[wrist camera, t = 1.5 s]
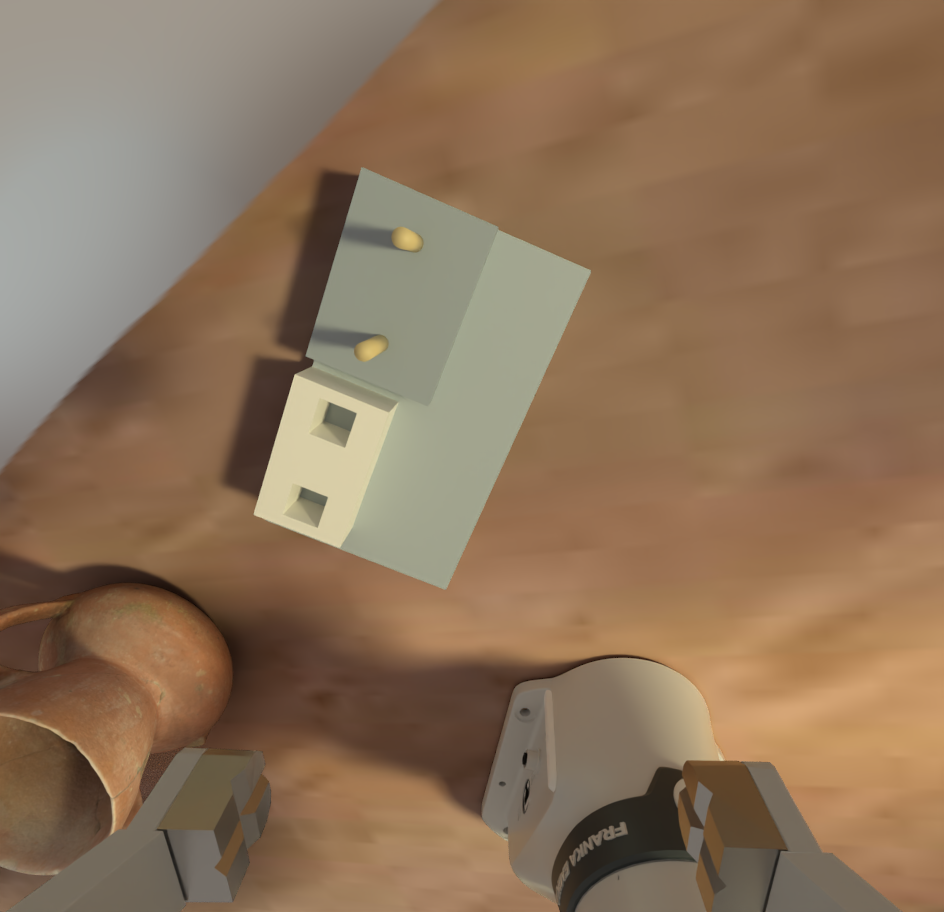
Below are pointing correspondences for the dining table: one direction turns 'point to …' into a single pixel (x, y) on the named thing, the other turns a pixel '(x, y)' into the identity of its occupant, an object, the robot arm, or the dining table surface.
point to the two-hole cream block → (323, 456)
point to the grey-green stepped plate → (435, 362)
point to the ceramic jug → (99, 715)
